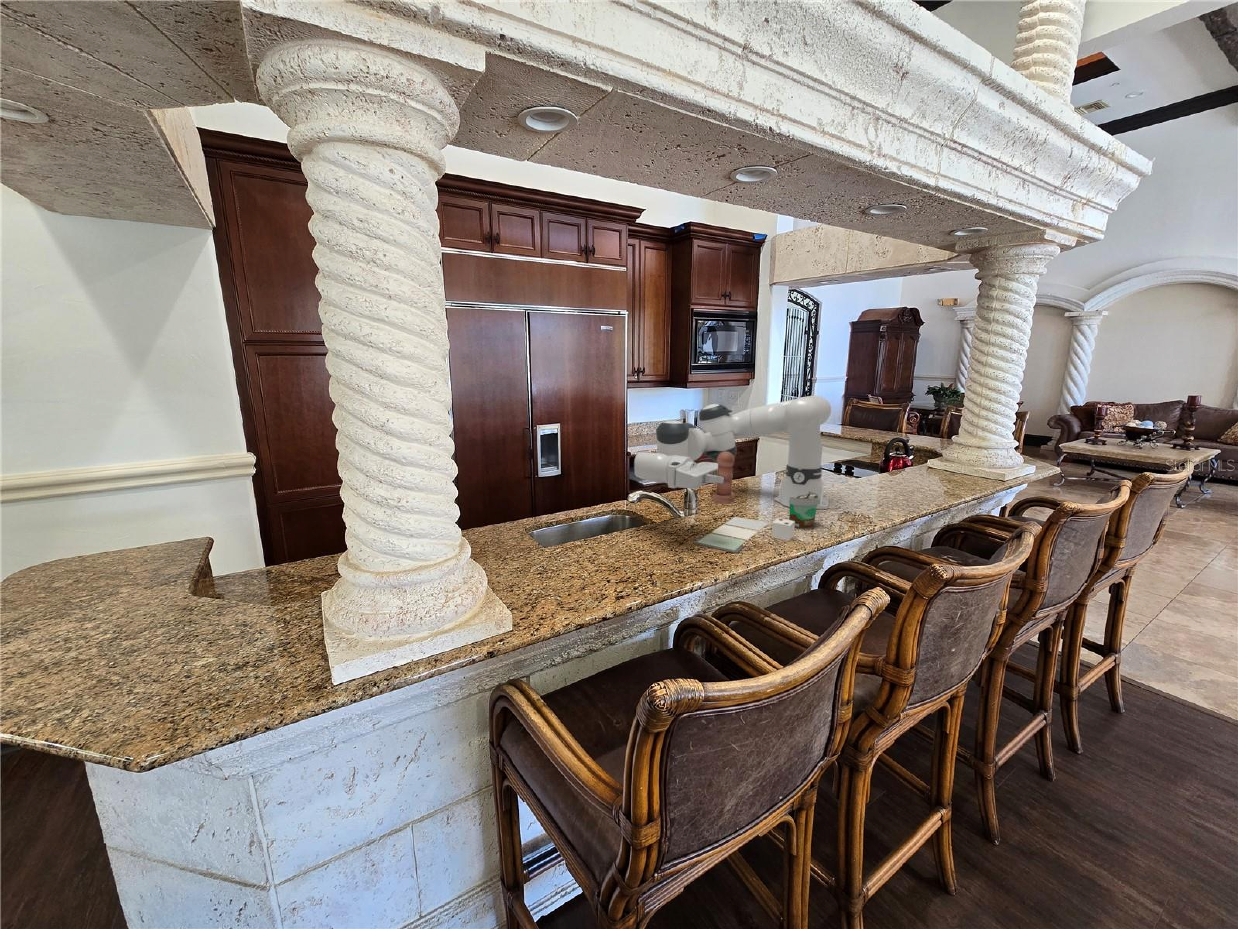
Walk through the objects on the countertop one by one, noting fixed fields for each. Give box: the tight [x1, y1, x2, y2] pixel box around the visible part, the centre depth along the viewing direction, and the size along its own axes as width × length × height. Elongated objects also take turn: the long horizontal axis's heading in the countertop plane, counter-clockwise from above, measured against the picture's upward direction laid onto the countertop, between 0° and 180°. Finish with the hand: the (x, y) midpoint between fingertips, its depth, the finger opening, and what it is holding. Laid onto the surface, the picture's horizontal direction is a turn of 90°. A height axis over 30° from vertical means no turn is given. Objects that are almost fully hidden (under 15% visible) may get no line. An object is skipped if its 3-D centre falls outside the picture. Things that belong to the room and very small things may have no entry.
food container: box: [788, 491, 820, 529], centre depth 155 cm, size 12×6×10 cm, turn 131°
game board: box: [692, 516, 769, 554], centre depth 149 cm, size 31×13×1 cm, turn 146°
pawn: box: [711, 451, 736, 505], centre depth 137 cm, size 6×6×14 cm
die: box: [770, 517, 795, 542], centre depth 145 cm, size 5×5×5 cm
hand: (727, 478), depth 137 cm, fingers closed on pawn, 4 cm apart
